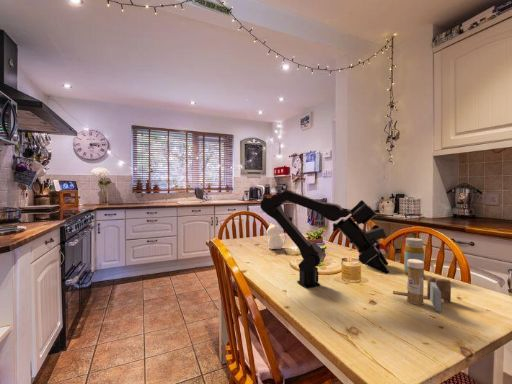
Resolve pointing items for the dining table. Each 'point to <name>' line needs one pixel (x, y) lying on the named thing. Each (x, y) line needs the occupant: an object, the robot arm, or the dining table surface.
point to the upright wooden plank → (442, 285)
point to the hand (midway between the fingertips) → (387, 268)
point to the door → (435, 296)
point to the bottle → (413, 251)
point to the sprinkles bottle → (415, 281)
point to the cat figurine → (275, 237)
